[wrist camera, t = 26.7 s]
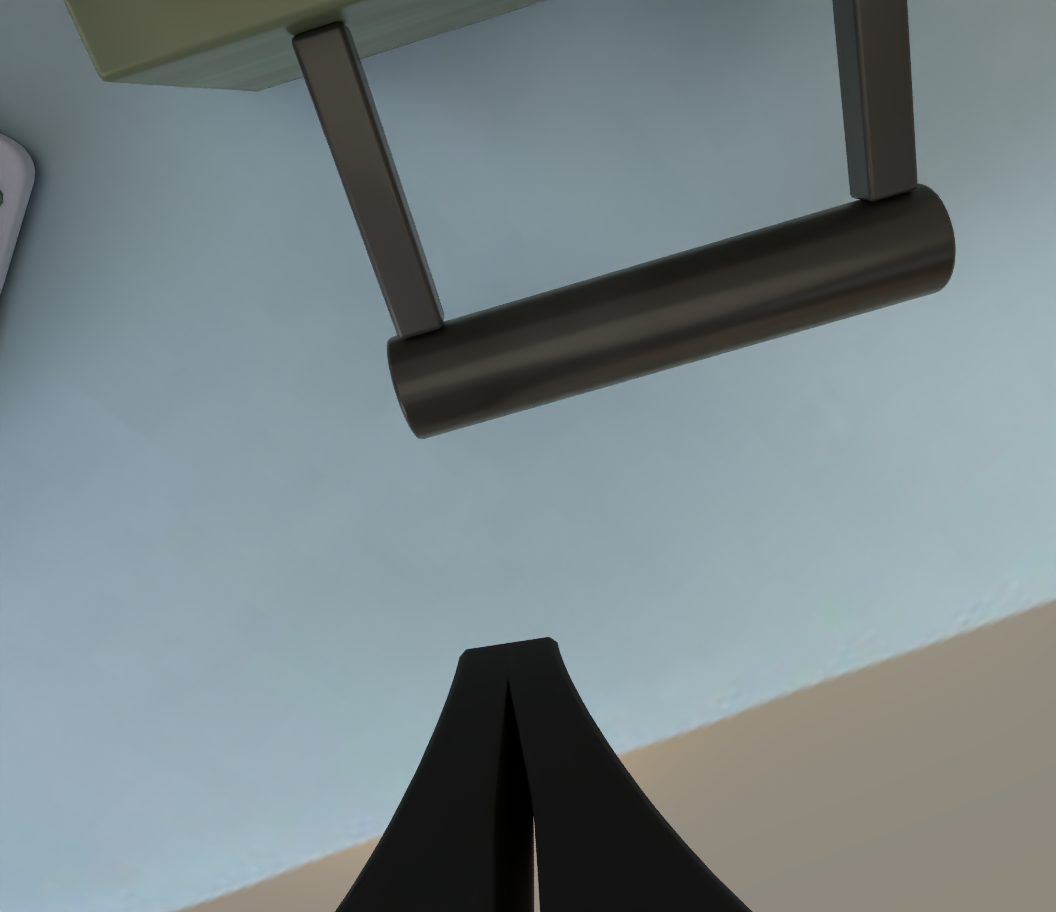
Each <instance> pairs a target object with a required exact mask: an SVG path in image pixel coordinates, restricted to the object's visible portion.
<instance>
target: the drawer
mask: <svg viewBox="0 0 1056 912" xmlns="http://www.w3.org/2000/svg"><path fill="white" fill-rule="evenodd" d="M542 1H546V0H64V2H65V5H66V7H67V9H68V11H69V13H70V15H71V17H72V20H73V22H74V24H75V26H76V28H77V30H78V32H79V35H80V37H81V39H82V41H83V43H84V45H85V47H86V50H87V52H88V54H89V56H90V58H91V60H92V62H93V65H94V67H95V69H96V71H97V73H98V75H99V76H100V77H101V78H102V79H103V80H104V81H106V82H115V83H131V84H147V85H163V86H179V87H195V88H211V89H227V90H243V91H260V90H263V89H266V88H270V87H273V86H276V85H279V84H282V83H285V82H289V81H292V80H295V79H298V78H301V77H304V79H305V82H306V85H307V88H308V90H309V93H310V96H311V99H312V101H313V104H314V107H315V110H316V112H317V115H318V118H319V121H320V123H321V126H322V129H323V132H324V134H325V137H326V140H327V143H328V145H329V148H330V151H331V154H332V156H333V159H334V162H335V165H336V167H337V170H338V173H339V176H340V178H341V181H342V184H343V187H344V189H345V192H346V195H347V198H348V200H349V203H350V206H351V209H352V211H353V214H354V217H355V220H356V222H357V225H358V228H359V231H360V233H361V236H362V239H363V242H364V245H365V247H366V250H367V253H368V256H369V258H370V261H371V264H372V267H373V269H374V272H375V275H376V278H377V280H378V283H379V286H380V289H381V291H382V294H383V297H384V300H385V302H386V305H387V308H388V311H389V313H390V316H391V319H392V322H393V324H394V327H395V330H396V333H397V336H394V337H391V338H390V339H389V340H388V343H387V358H388V364H389V370H390V374H391V378H392V382H393V386H394V389H395V393H396V396H397V399H398V402H399V404H400V407H401V410H402V412H403V415H404V417H405V419H406V421H407V423H408V425H409V427H410V429H411V430H412V432H413V433H414V434H415V436H416V437H417V438H419V439H425V438H429V437H432V436H436V435H439V434H443V433H446V432H450V431H453V430H457V429H460V428H464V427H467V426H471V425H474V424H478V423H481V422H485V421H488V420H492V419H495V418H499V417H502V416H506V415H509V414H513V413H516V412H520V411H523V410H527V409H530V408H534V407H537V406H541V405H544V404H548V403H551V402H555V401H558V400H562V399H565V398H569V397H572V396H576V395H579V394H583V393H586V392H590V391H593V390H597V389H600V388H604V387H607V386H611V385H614V384H618V383H621V382H625V381H628V380H632V379H635V378H639V377H642V376H646V375H649V374H653V373H656V372H660V371H663V370H667V369H670V368H674V367H677V366H681V365H684V364H688V363H691V362H695V361H698V360H702V359H705V358H709V357H712V356H716V355H719V354H723V353H726V352H730V351H733V350H737V349H740V348H744V347H747V346H751V345H754V344H758V343H761V342H765V341H768V340H772V339H775V338H779V337H782V336H786V335H789V334H793V333H796V332H800V331H803V330H807V329H810V328H814V327H817V326H821V325H824V324H828V323H831V322H835V321H838V320H842V319H845V318H849V317H852V316H856V315H859V314H863V313H866V312H870V311H873V310H877V309H880V308H884V307H887V306H891V305H894V304H898V303H901V302H905V301H908V300H912V299H915V298H919V297H922V296H926V295H929V294H933V293H936V292H938V291H940V290H941V289H942V288H944V287H945V286H946V284H947V283H948V282H949V280H950V278H951V275H952V273H953V269H954V264H955V238H954V232H953V227H952V223H951V220H950V217H949V215H948V212H947V210H946V208H945V206H944V204H943V202H942V200H941V199H940V198H939V196H938V195H937V194H936V193H935V192H934V191H933V190H932V189H931V188H929V187H928V186H926V185H922V184H917V167H916V149H915V131H914V114H913V96H912V78H911V61H910V43H909V25H908V8H907V0H832V2H833V12H834V23H835V34H836V45H837V55H838V66H839V77H840V88H841V98H842V109H843V120H844V131H845V142H846V152H847V163H848V174H849V185H850V195H851V196H852V197H853V198H857V199H860V200H857V201H853V202H850V203H847V204H843V205H840V206H836V207H833V208H830V209H826V210H823V211H819V212H816V213H813V214H809V215H806V216H802V217H799V218H795V219H792V220H789V221H785V222H782V223H778V224H775V225H772V226H768V227H765V228H761V229H758V230H755V231H751V232H748V233H744V234H741V235H738V236H734V237H731V238H727V239H724V240H721V241H717V242H714V243H710V244H707V245H704V246H700V247H697V248H693V249H690V250H687V251H683V252H680V253H676V254H673V255H670V256H666V257H663V258H659V259H656V260H653V261H649V262H646V263H642V264H639V265H636V266H632V267H629V268H625V269H622V270H619V271H615V272H612V273H608V274H605V275H602V276H598V277H595V278H591V279H588V280H585V281H581V282H578V283H574V284H571V285H568V286H564V287H561V288H557V289H554V290H551V291H547V292H544V293H540V294H537V295H533V296H530V297H527V298H523V299H520V300H516V301H513V302H510V303H506V304H503V305H499V306H496V307H493V308H489V309H486V310H482V311H479V312H476V313H472V314H469V315H465V316H462V317H459V318H455V319H452V320H448V321H445V322H443V321H444V311H443V308H442V305H441V302H440V299H439V296H438V293H437V290H436V287H435V284H434V281H433V278H432V275H431V272H430V269H429V266H428V263H427V260H426V257H425V254H424V251H423V248H422V245H421V242H420V239H419V235H418V232H417V229H416V226H415V223H414V220H413V217H412V214H411V211H410V208H409V205H408V202H407V199H406V196H405V193H404V190H403V187H402V184H401V181H400V178H399V175H398V172H397V169H396V166H395V163H394V160H393V157H392V154H391V151H390V148H389V145H388V142H387V139H386V136H385V133H384V130H383V127H382V124H381V121H380V118H379V115H378V112H377V109H376V106H375V103H374V100H373V97H372V94H371V91H370V88H369V85H368V82H367V79H366V76H365V73H364V70H363V67H362V64H361V61H360V59H362V58H365V57H368V56H371V55H374V54H377V53H381V52H384V51H387V50H390V49H393V48H396V47H400V46H403V45H406V44H409V43H412V42H416V41H419V40H422V39H425V38H428V37H431V36H435V35H438V34H441V33H444V32H447V31H450V30H454V29H457V28H460V27H463V26H466V25H469V24H473V23H476V22H479V21H482V20H485V19H488V18H492V17H495V16H498V15H501V14H504V13H507V12H511V11H514V10H517V9H520V8H523V7H527V6H530V5H533V4H536V3H539V2H542Z"/></svg>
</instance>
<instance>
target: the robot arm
mask: <svg viewBox="0 0 1056 912" xmlns="http://www.w3.org/2000/svg"><path fill="white" fill-rule="evenodd" d="M34 181H35V167H34V164H33V161H32V158H31V157H30V155H29V154H28V153H27V151H26V150H25V149H24V147H22V146H21V145H20V144H18V143H17V142H15V141H14V140H12V139H10V138H8V137H7V136H5V135H3V134H1V133H0V189H1V191H2V193H3V203H2V204H1V206H0V295H1V292H2V288H3V285H4V282H5V278H6V275H7V272H8V268H9V265H10V262H11V258H12V255H13V251H14V248H15V245H16V241H17V238H18V235H19V231H20V228H21V225H22V221H23V218H24V215H25V211H26V208H27V204H28V201H29V198H30V194H31V191H32V188H33V184H34ZM533 816H534V823H535V838H536V853H537V866H538V882H539V899H540V912H752V911H751V910H750V909H749V908H748V907H747V906H746V905H745V904H744V903H743V902H742V901H741V900H740V899H739V898H738V897H737V896H736V895H735V894H734V893H733V892H732V891H731V890H730V889H729V888H727V887H726V886H725V885H724V884H723V883H722V882H721V881H720V880H719V879H718V878H717V877H716V876H715V875H714V874H713V873H712V872H711V870H709V868H708V867H707V866H706V865H705V864H704V863H703V862H702V861H701V860H700V858H699V857H698V856H697V855H696V854H695V853H694V852H693V851H692V850H691V849H690V848H689V846H688V845H687V844H686V843H685V842H684V841H683V840H682V839H681V837H680V836H679V835H678V834H677V833H676V831H675V830H674V829H673V828H672V827H671V826H670V824H669V823H668V822H667V821H666V820H665V819H664V817H663V816H662V815H661V814H660V813H659V811H658V810H657V809H656V808H655V806H654V805H653V804H652V803H651V802H650V800H649V799H648V798H647V796H646V795H645V794H644V792H643V791H642V790H641V788H640V787H639V786H638V784H637V783H636V782H635V780H634V779H633V778H632V776H631V775H630V773H629V772H628V771H627V770H626V768H625V767H624V765H623V764H622V763H621V761H620V760H619V758H618V757H617V755H616V754H615V752H614V751H613V749H612V748H611V746H610V745H609V743H608V742H607V740H606V739H605V737H604V736H603V734H602V732H601V731H600V729H599V728H598V726H597V724H596V723H595V721H594V720H593V718H592V716H591V715H590V713H589V712H588V710H587V708H586V706H585V705H584V703H583V701H582V699H581V697H580V696H579V694H578V692H577V690H576V688H575V686H574V684H573V682H572V680H571V678H570V676H569V674H568V672H567V669H566V667H565V665H564V662H563V660H562V657H561V654H560V651H559V648H558V643H557V642H556V641H554V640H553V639H551V638H550V637H545V638H539V639H532V640H526V641H519V642H512V643H506V644H499V645H493V646H486V647H479V648H473V649H466V650H465V651H464V653H463V654H462V655H461V656H460V658H459V662H458V666H457V669H456V673H455V676H454V679H453V682H452V685H451V688H450V691H449V694H448V697H447V700H446V702H445V705H444V707H443V710H442V713H441V715H440V718H439V720H438V723H437V725H436V727H435V730H434V732H433V734H432V737H431V739H430V741H429V744H428V746H427V748H426V750H425V753H424V755H423V757H422V760H421V762H420V764H419V766H418V768H417V770H416V773H415V775H414V777H413V778H412V780H411V782H410V784H409V786H408V788H407V790H406V792H405V794H404V796H403V798H402V800H401V802H400V804H399V806H398V808H397V810H396V812H395V814H394V816H393V818H392V820H391V821H390V823H389V825H388V827H387V829H386V830H385V832H384V834H383V836H382V837H381V839H380V841H379V843H378V845H377V846H376V848H375V850H374V851H373V853H372V855H371V857H370V858H369V860H368V861H367V863H366V865H365V866H364V868H363V869H362V871H361V873H360V874H359V876H358V878H357V879H356V881H355V883H354V884H353V886H352V887H351V889H350V890H349V892H348V893H347V895H346V897H345V898H344V899H343V901H342V902H341V904H340V905H339V907H338V908H337V910H336V911H335V912H534V826H533Z"/></svg>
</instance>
